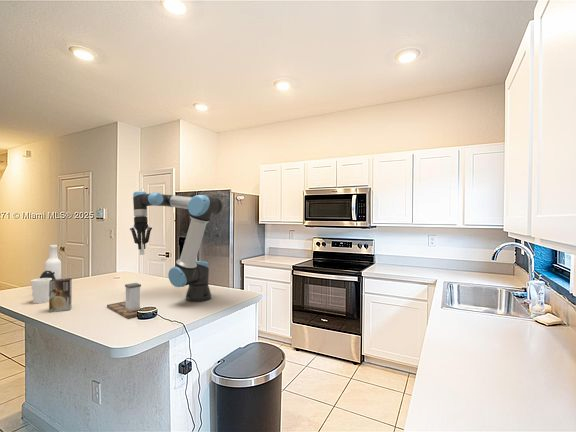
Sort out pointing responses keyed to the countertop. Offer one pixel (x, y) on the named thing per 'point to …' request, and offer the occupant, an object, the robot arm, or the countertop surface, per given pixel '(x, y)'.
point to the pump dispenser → (48, 275)
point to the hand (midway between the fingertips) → (142, 254)
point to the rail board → (122, 310)
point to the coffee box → (60, 294)
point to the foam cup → (40, 290)
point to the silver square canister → (132, 297)
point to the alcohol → (53, 262)
